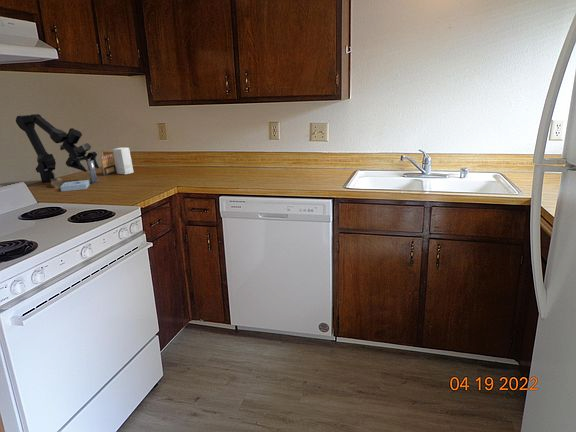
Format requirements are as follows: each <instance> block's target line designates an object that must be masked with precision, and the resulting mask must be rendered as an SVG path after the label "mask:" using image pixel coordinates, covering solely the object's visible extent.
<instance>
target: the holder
mask: <svg viewBox="0 0 576 432" xmlns="http://www.w3.org/2000/svg"><path fill="white" fill-rule="evenodd" d="M90 184H91V182H90V179H86V180H85V179H84V180H76V181H75V180H74V181H66V182H63V185H62V186H61V187H60V191H61V192H68V191H79V190H87V189H88V188H89V186H90Z"/></svg>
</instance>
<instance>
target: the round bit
mask: <svg viewBox="0 0 576 432" xmlns="http://www.w3.org/2000/svg"><path fill="white" fill-rule="evenodd" d="M85 162H86V167H87V171H88V176H89V177H88V178H89V183H90V184H92V185H95V184H98V182H99V181H98V177H97V172H96V168H95V165H94V160H89V161H86V160H85Z"/></svg>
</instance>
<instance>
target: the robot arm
mask: <svg viewBox="0 0 576 432" xmlns="http://www.w3.org/2000/svg"><path fill="white" fill-rule="evenodd" d="M15 123H16V124H17V126H18V127H19V129H20V130H22V131H23V132H25V134H26V136H27V138H28V140H29V142H30V144H31V145H32V148H33V150H34V151H35V153H36V155H37V157H36V158H37V159H36V161H37V166H36V167H35V171H36V172H37V173H38V174H39V175H40V183H41V184H43V183H45V184H46V183H51V179H53V178H56V174H55V172H54V171H55V170H56V164H57V162H56V159H55V157H54V155H53V154H52V153H49V152H47V150H46V148H45V146H44V145H43V143H42V141H41V139H40V137H39V135H38V133H37V132H36V129H35V127H36V126H38V127H39V128H40V129H41V130H43V131H44V132H45V133H47V134H48V135H49V138H50V139H51V141H53V143H55V144H60V145H59V150H60V151H66V153H68V157H67V159H66V161H65V165H66V166H67V168H73V169H76V170H79V171H82V172H84V173H87V171H88V169H86V167H85V166H84V165H83V164H82V163H81V162H83V161H85V162H86V161H89V160H94V165H95V169H99V168H100V167H99V164H98V162H97V159H96V157H97V156H98V153H97V152H96V151H90V150H91V148H92V147H91V145H90V144H89V143H84V144H82V145H79V146H77V145H76V144H78V143H79V141H80V140H81V139H82V136H83V134H82V133H83V132H81V131H80V130H78V129H75V128H73V127H71V128H69V130H68V132H66V131H64V130H63V129H59V128H56V127H55V126H54V125H53V124H52V123H50V122H48V121H47V120H46V119H45V118H44V117H42V115H41V114H39V113H34V114H33V113H32V114H24V115H21V114H20V115H17V116H16V118H15ZM87 151H90V152H87Z"/></svg>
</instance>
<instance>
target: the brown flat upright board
mask: <svg viewBox="0 0 576 432" xmlns="http://www.w3.org/2000/svg"><path fill="white" fill-rule="evenodd" d="M100 159H101V171H102V176H103V177H107V176H110V175H113V173H114V174H117V169H116V164H115V159H114V155H113V153H109V154H107V155H106V154H105V155H102V156H101V158H100Z"/></svg>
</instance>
